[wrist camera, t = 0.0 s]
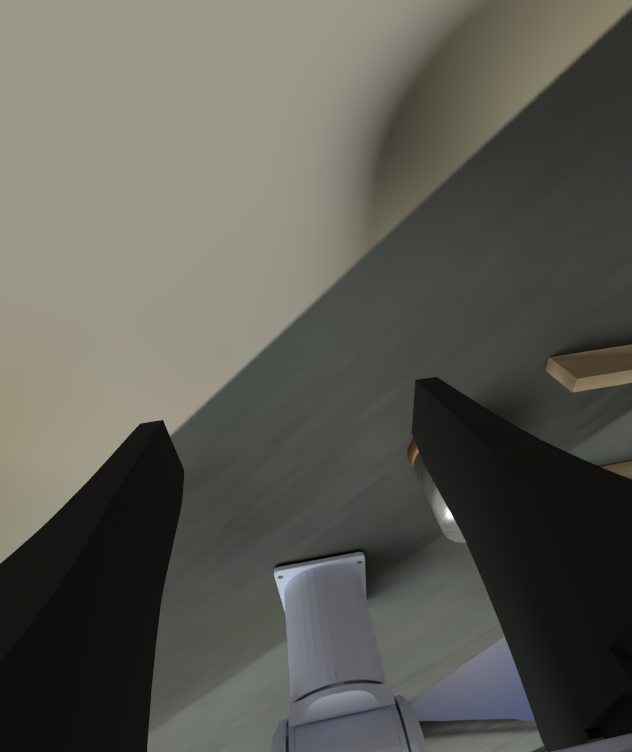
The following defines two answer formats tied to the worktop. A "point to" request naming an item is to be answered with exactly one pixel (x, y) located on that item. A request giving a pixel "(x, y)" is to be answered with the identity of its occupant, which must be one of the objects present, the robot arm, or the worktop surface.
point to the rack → (595, 377)
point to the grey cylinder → (434, 496)
